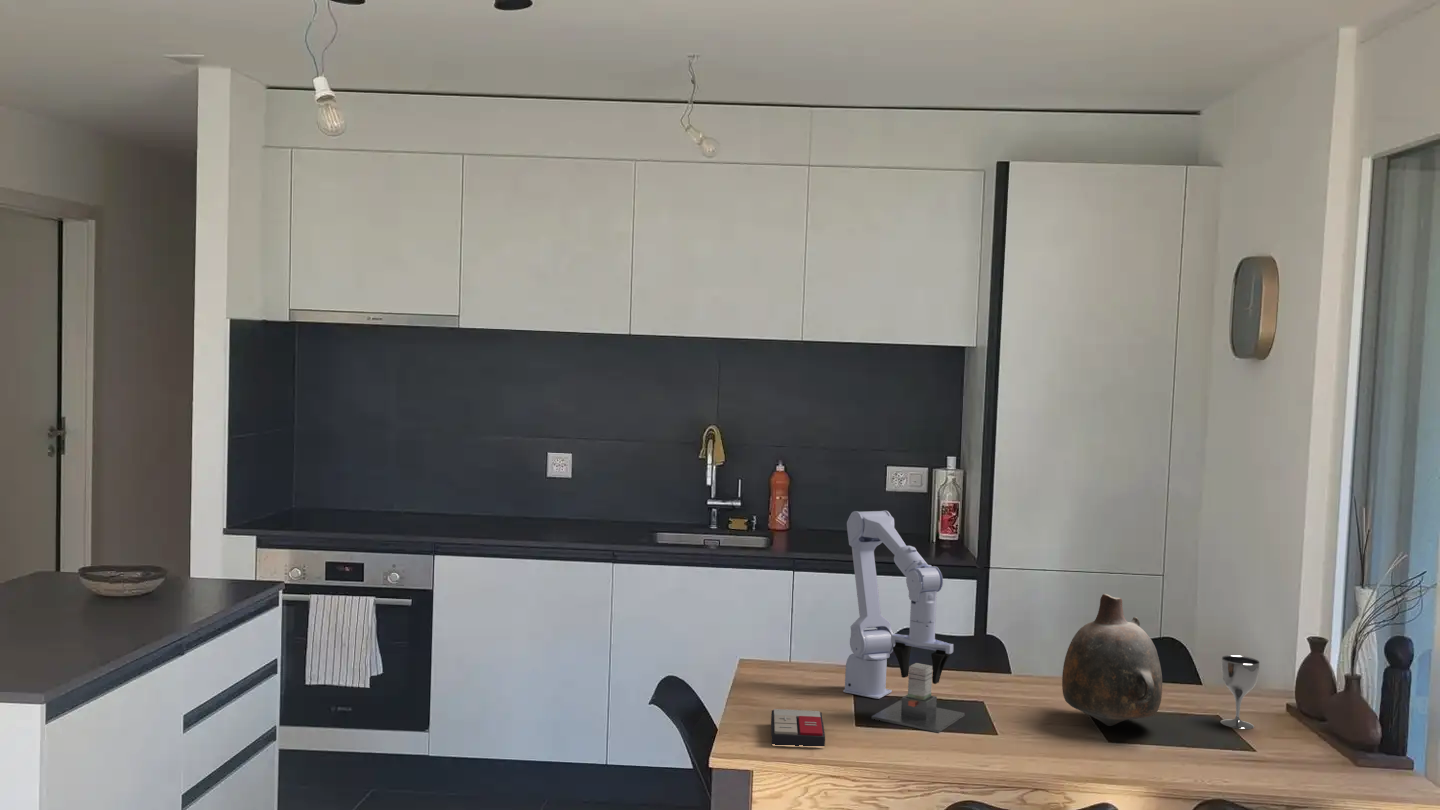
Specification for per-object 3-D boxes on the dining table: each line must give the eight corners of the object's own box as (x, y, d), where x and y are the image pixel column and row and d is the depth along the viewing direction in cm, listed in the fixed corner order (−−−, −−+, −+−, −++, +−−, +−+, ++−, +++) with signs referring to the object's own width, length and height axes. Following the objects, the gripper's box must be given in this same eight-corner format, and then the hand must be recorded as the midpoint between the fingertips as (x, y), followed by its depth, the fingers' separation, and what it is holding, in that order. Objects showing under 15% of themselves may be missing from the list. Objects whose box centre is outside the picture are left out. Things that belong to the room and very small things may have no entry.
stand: (871, 718, 271) (872, 698, 270) (899, 702, 284) (900, 683, 284) (938, 732, 262) (939, 712, 262) (964, 715, 276) (965, 695, 276)
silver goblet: (1256, 722, 279) (1259, 658, 278) (1255, 731, 272) (1259, 665, 271) (1219, 716, 282) (1222, 653, 282) (1217, 725, 275) (1221, 660, 274)
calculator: (772, 730, 249) (771, 706, 264) (771, 751, 249) (770, 725, 264) (825, 733, 248) (821, 708, 263) (824, 753, 249) (821, 727, 264)
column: (907, 701, 272) (908, 666, 272) (914, 697, 276) (915, 662, 276) (924, 704, 270) (925, 669, 270) (931, 700, 274) (932, 665, 273)
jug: (1181, 728, 272) (1188, 596, 271) (1141, 748, 256) (1148, 609, 255) (1080, 704, 289) (1086, 580, 287) (1036, 721, 273) (1043, 590, 272)
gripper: (959, 622, 272) (957, 682, 272) (901, 612, 280) (899, 670, 280) (946, 627, 266) (944, 688, 266) (887, 617, 274) (885, 676, 274)
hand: (920, 679), depth 273 cm, fingers open, 7 cm apart
